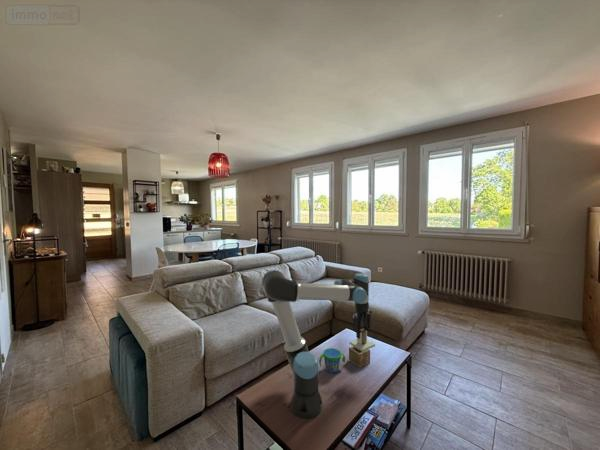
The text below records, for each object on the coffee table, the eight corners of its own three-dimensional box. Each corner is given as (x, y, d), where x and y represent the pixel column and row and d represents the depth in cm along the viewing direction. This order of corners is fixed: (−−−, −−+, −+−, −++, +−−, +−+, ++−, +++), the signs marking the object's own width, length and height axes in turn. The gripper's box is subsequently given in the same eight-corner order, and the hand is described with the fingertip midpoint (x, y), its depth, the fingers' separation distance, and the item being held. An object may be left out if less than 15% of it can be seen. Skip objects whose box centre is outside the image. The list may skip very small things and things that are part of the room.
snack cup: (342, 362, 154) (342, 346, 154) (347, 373, 144) (347, 356, 143) (317, 365, 152) (317, 349, 152) (321, 376, 142) (321, 359, 141)
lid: (362, 351, 135) (362, 336, 135) (349, 343, 144) (349, 329, 143) (375, 346, 140) (375, 331, 140) (362, 338, 149) (361, 325, 148)
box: (359, 367, 149) (359, 354, 149) (348, 360, 157) (348, 347, 157) (370, 362, 154) (370, 350, 154) (359, 355, 162) (359, 343, 161)
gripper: (355, 306, 133) (356, 349, 134) (377, 300, 142) (377, 340, 143) (346, 302, 140) (346, 343, 141) (367, 296, 148) (367, 335, 149)
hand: (362, 342), depth 142 cm, fingers closed on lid, 3 cm apart
